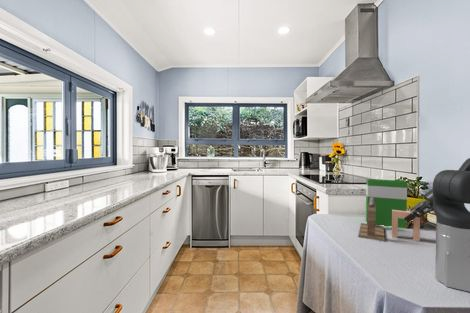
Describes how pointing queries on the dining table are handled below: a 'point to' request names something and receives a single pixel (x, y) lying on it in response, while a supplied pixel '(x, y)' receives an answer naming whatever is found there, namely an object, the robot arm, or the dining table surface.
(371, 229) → the wooden rack with bar
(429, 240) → the dining table surface
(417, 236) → the pink c-shaped hook
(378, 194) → the hardback book
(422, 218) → the tin
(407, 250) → the dining table surface
